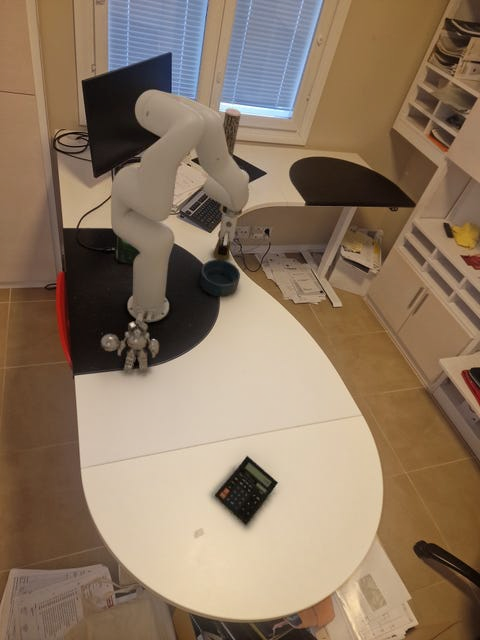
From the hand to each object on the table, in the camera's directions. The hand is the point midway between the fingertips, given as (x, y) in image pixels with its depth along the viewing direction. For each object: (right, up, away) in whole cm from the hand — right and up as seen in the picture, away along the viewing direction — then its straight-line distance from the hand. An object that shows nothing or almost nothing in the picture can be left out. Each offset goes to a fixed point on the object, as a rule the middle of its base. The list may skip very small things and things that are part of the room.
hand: (222, 249), depth 150 cm
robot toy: (-24, -38, -37) cm, 58 cm away
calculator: (+8, -66, -54) cm, 86 cm away
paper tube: (-2, +50, +50) cm, 70 cm away
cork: (-1, -2, +2) cm, 3 cm away
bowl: (-1, -14, -9) cm, 16 cm away
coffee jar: (-31, -5, -8) cm, 33 cm away
